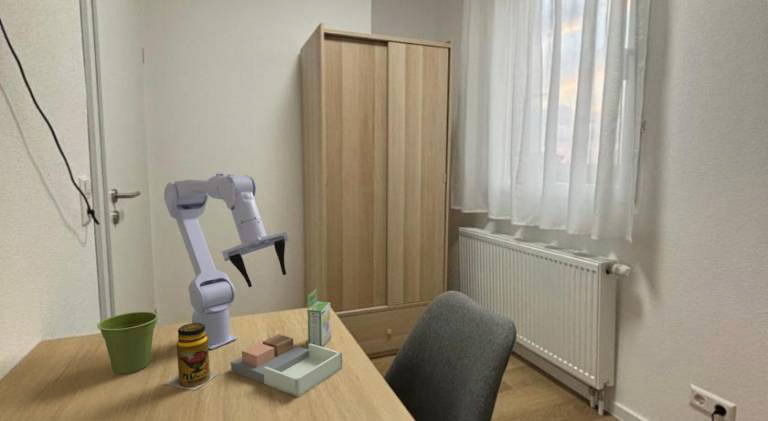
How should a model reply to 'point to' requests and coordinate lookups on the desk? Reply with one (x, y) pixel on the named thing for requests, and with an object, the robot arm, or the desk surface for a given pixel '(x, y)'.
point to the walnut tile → (280, 344)
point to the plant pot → (129, 340)
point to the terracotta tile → (258, 354)
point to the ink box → (318, 321)
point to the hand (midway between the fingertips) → (267, 280)
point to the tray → (305, 371)
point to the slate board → (270, 363)
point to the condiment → (192, 358)
